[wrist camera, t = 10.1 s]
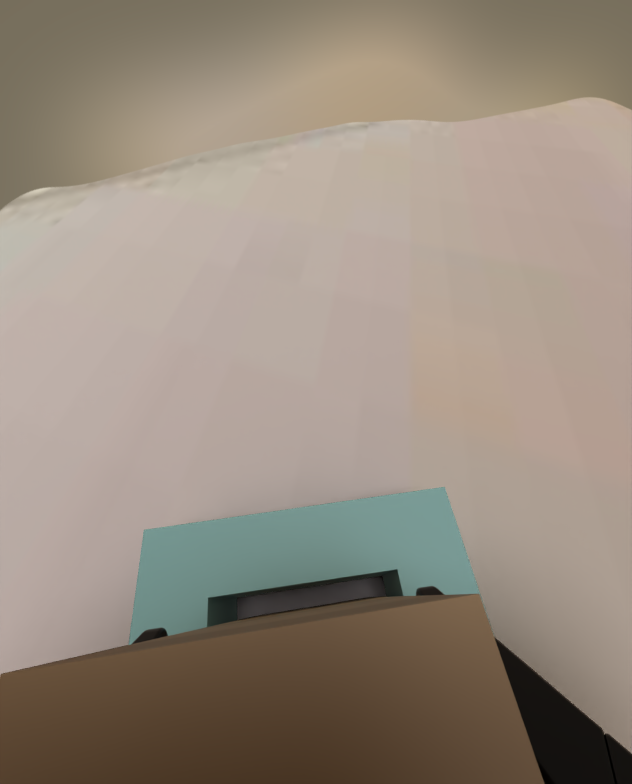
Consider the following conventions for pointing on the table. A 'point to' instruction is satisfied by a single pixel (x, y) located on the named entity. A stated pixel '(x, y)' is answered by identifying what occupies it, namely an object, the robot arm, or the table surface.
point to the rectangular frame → (297, 557)
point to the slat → (279, 703)
